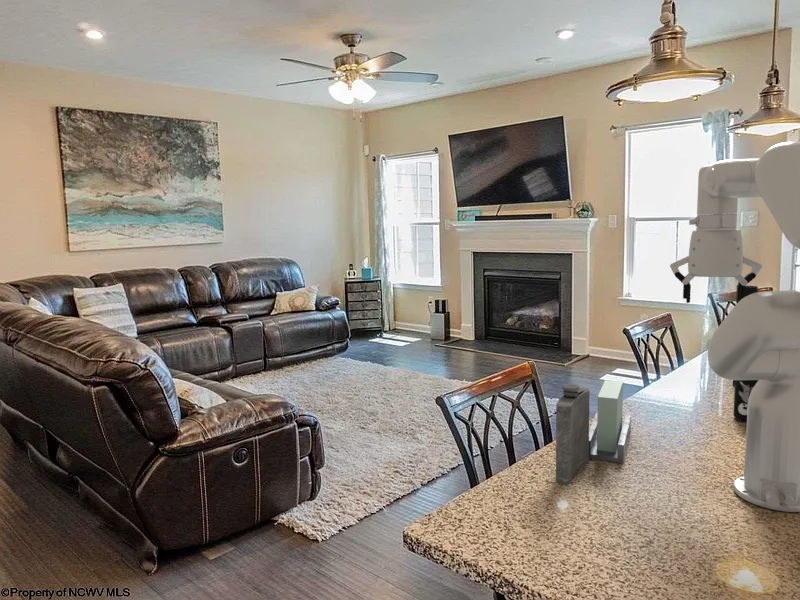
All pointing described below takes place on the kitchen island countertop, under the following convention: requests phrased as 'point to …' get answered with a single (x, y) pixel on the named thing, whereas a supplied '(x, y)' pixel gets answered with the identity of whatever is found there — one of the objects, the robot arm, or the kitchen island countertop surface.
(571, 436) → the flask
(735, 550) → the kitchen island countertop surface
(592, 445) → the strip
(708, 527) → the kitchen island countertop surface
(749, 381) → the beverage can
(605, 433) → the door panel
